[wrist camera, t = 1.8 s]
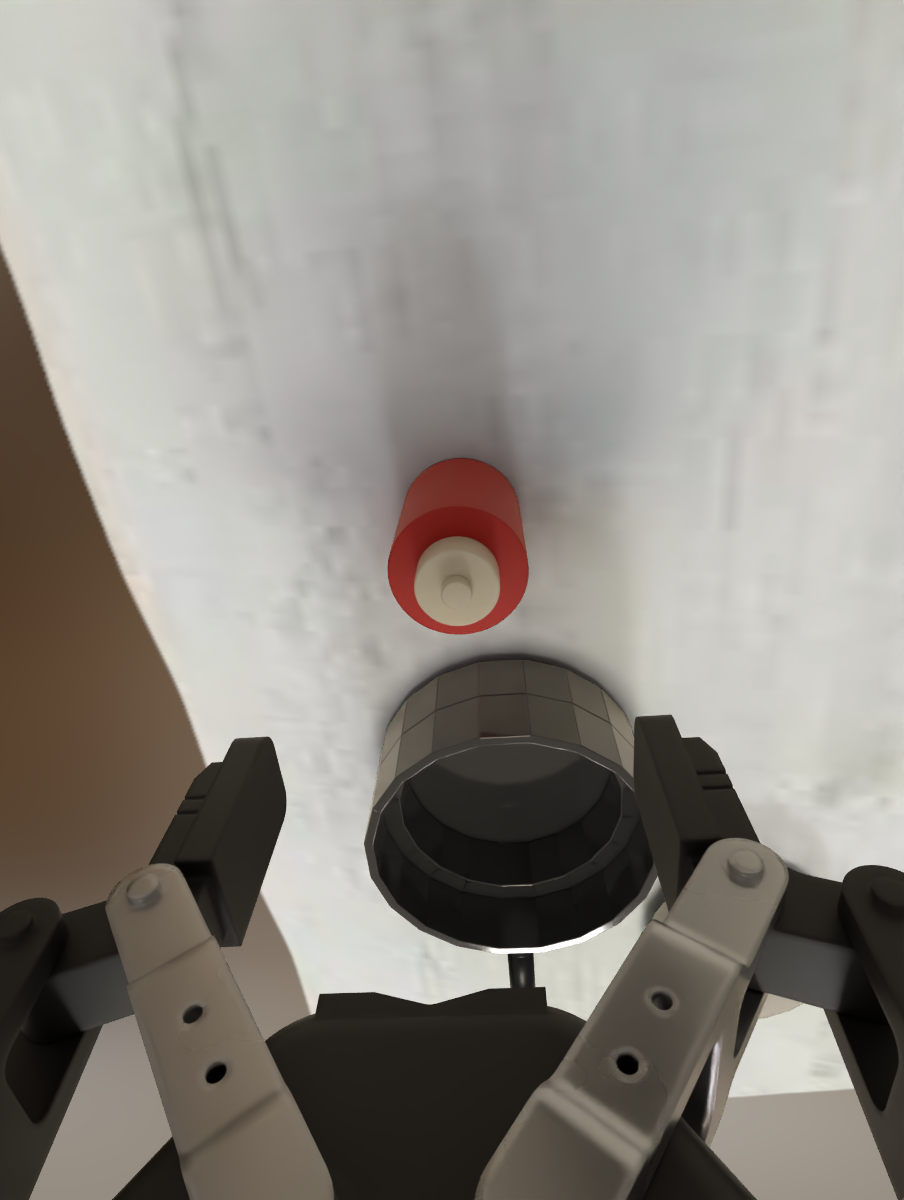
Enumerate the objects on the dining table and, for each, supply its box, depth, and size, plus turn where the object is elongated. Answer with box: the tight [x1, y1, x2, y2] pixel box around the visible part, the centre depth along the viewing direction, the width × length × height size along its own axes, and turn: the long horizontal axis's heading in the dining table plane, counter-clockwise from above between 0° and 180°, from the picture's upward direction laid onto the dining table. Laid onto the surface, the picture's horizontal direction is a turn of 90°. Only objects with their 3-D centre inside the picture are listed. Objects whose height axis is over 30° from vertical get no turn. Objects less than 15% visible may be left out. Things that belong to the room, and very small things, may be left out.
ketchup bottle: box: [388, 458, 529, 634], centre depth 26 cm, size 5×5×8 cm
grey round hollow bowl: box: [364, 659, 658, 954], centre depth 32 cm, size 12×12×6 cm
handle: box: [508, 953, 535, 988], centre depth 34 cm, size 8×1×1 cm, turn 5°
